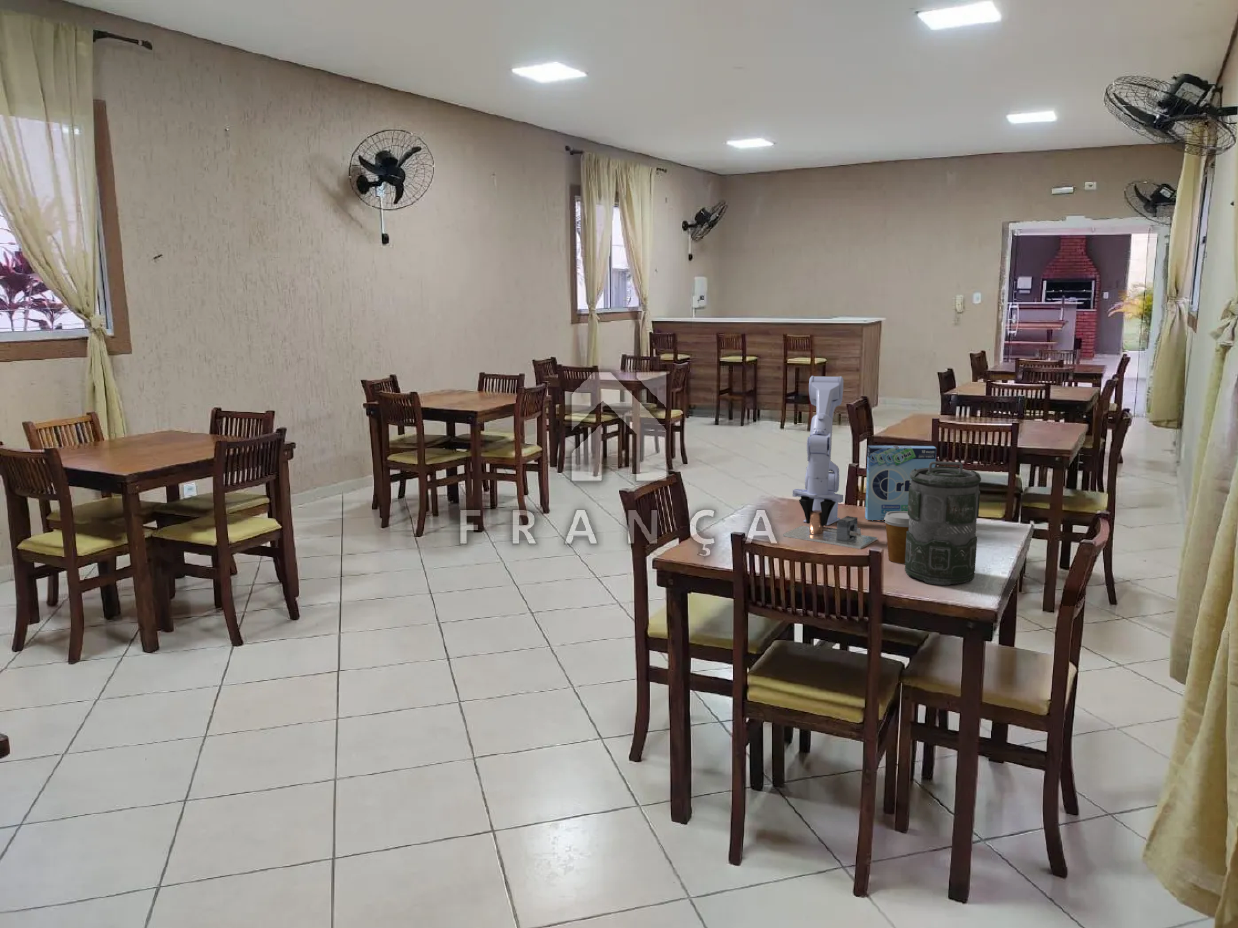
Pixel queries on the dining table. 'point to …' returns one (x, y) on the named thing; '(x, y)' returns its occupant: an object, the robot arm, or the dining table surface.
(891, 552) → the disposable coffee cup
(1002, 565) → the dining table surface
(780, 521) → the dining table surface
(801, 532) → the grey plate
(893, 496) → the gum box
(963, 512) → the canister
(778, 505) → the dining table surface
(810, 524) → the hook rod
